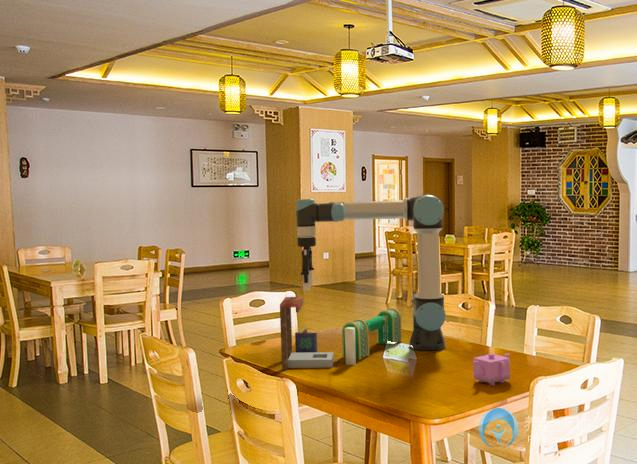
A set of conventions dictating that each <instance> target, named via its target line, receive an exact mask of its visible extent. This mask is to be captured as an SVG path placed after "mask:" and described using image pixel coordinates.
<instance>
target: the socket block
mask: <svg viewBox="0 0 637 464" xmlns="http://www.w3.org/2000/svg"><path fill="white" fill-rule="evenodd" d="M334 356H335V354H334V352H333V351H329V352H328V351H326V352H323V351H320V352H319V351H318V352H307V353H296V352H292V353H291V355H290V357H289V359H288V369H289V368H290V369H293V368H294V369H296V368H299V369H301V368H302V369H303V368H309V369H311V368H333V365H334V360H335V357H334Z"/></svg>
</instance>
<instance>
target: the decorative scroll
mask: <svg viewBox="0 0 637 464" xmlns="http://www.w3.org/2000/svg"><path fill="white" fill-rule="evenodd" d="M347 327H353V328H355V349H356V360H358V361H359V360H360V361H361V360H362V359H363V358H366V357H370V335H369V333H371V332H374V331H376V340H377V342H376V344H382V345H387V344H386V343H387V341H391V342H399V343H402V342H403V339H402V336H403V335H402V316H401V313H400V311H399V310H397V309H396V308H394V307H391V308H390V307H389V308H387V309H386V310H381V311H379V312H378V314H377V316H375V317H373V318H370V319H368V320H363V319H360V318H359V319H358V318H357V319H354V320H352V321H347V322H346V323H345V324H344V325H343V326H342V328H341V340H342V341H341V342H342V343H341V344H342V349H341V350H342V358H345V328H347ZM345 359H346V358H345Z"/></svg>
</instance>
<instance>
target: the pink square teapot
mask: <svg viewBox="0 0 637 464" xmlns="http://www.w3.org/2000/svg"><path fill="white" fill-rule="evenodd" d="M510 354H511V353H505V354H504V355H498V354H495V353H488V354H485V355H479V356H476V357H473V361H472V363H473V379H475V380H477V381H478V382H479V383H488V385H489V386H495V385H496V383H497V382H498V383H500V384H505V383H506V382H505V381H507V380H510V378H511V368H510V367H511V365H510V363H511V362H510V359H511V358H510V357H509V356H510Z"/></svg>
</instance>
